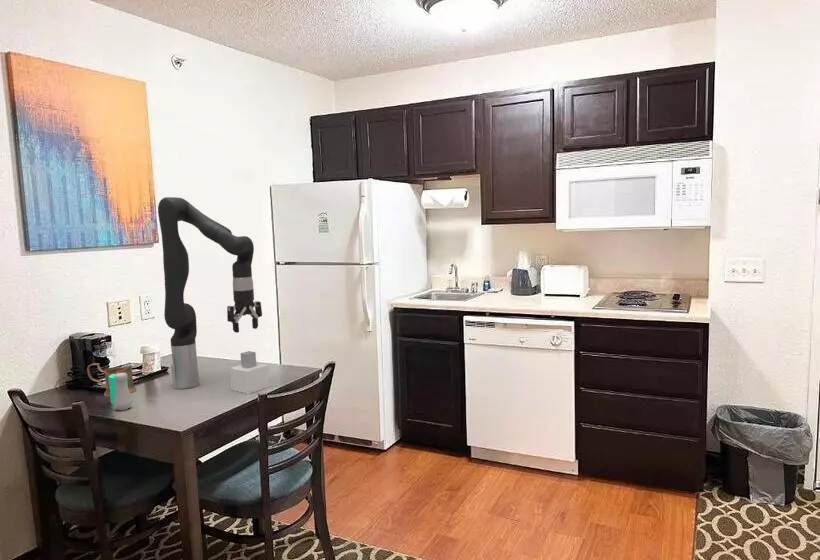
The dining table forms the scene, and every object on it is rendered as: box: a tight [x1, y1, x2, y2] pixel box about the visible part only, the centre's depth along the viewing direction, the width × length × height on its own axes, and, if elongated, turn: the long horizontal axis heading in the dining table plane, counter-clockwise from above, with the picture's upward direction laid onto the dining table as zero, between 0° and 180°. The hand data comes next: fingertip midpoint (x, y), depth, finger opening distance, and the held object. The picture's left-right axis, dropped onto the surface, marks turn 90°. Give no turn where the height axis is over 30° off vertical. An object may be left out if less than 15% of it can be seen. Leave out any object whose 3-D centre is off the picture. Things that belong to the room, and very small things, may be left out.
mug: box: [86, 362, 137, 398], centre depth 224 cm, size 12×18×12 cm, turn 91°
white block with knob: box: [229, 350, 271, 395], centre depth 220 cm, size 10×10×14 cm
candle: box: [109, 373, 128, 406], centre depth 210 cm, size 6×6×12 cm
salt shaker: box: [113, 373, 133, 411], centre depth 203 cm, size 6×6×13 cm
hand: (246, 330), depth 219 cm, fingers open, 8 cm apart
